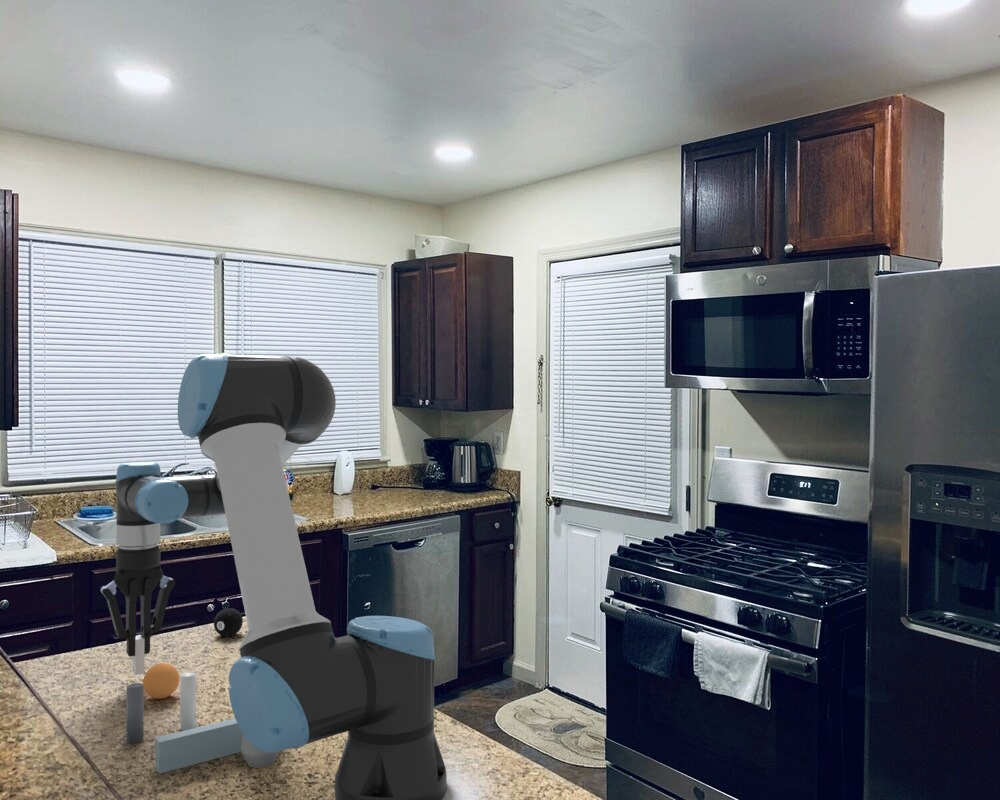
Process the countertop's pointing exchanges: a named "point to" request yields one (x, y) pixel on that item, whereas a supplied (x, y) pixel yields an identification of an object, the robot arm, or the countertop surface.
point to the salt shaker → (256, 755)
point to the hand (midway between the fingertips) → (138, 671)
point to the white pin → (187, 701)
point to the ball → (161, 681)
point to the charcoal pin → (135, 713)
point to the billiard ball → (228, 622)
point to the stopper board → (197, 745)
